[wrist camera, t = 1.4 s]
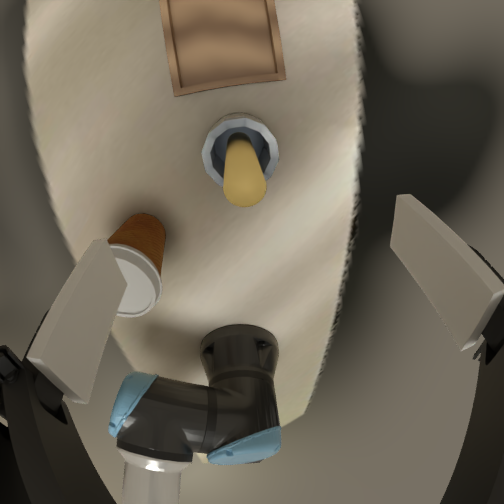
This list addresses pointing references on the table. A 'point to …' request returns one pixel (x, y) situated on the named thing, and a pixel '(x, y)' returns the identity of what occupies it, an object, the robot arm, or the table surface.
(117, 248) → the disposable coffee cup
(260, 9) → the tray
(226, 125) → the pen cup
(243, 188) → the dowel
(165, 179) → the table surface
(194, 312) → the table surface
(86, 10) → the table surface
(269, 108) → the table surface
